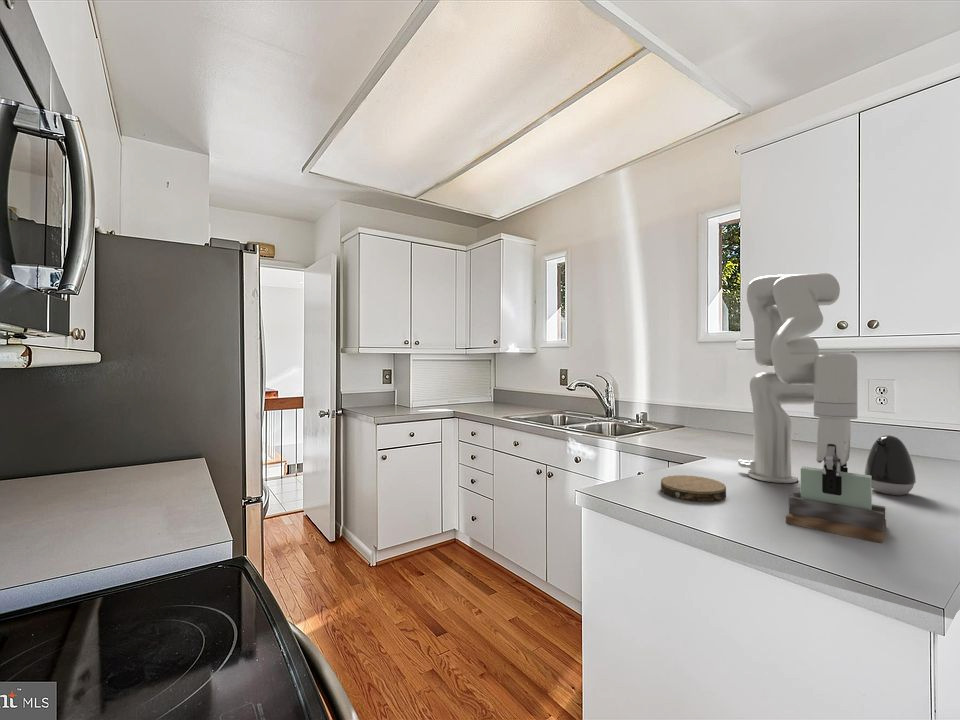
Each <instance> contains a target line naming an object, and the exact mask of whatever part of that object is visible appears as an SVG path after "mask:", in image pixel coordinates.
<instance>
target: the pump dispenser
mask: <svg viewBox="0 0 960 720" xmlns="http://www.w3.org/2000/svg"><path fill="white" fill-rule="evenodd" d="M905 445H906V444H904V443H903V441H902V440H901V439H899V437H897V436H894V435H882V436H880V437H878V438H877V439H876V440H875V442H874V443H873V444H872V447H871V448H870V450H869V452H868V456H867V458H866V462H865V468H864V473H863V475H870V476H872V490H874V491H876V492H878V493H880V492H881V493H880V494H884V493H885V495H889V494H891V495H890V496H902V495H903V496H904V495H906V494H908V493H910V492H911V491H912V490H913V488H914V486H915V484H916V483H917V478H916V472H915V471H916V470H915V467H914V463H913V460H912V458H911V455H910V453H909V451H908V449H907V447H906V446H905Z"/></svg>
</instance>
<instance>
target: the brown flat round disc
mask: <svg viewBox="0 0 960 720" xmlns="http://www.w3.org/2000/svg"><path fill="white" fill-rule="evenodd" d="M660 490H661V491H660V492H661V493H662V494H663V495H665V496H667V497H670V498H673V499H675V500H681V501H686V502H691V503H716V502H718V503H719V502H721V501H724V500H725V499H726V497H727V486H726V484H725V483H723V482H721V481H719V480H715V479H714V478H713V479H712V478H708V477H704V476H703V477H702V476H697V475H685V474H684V475H683V474H682V475H680V474H678V475H676V474H675V475H668V476H665V477H663V478H661V479H660Z"/></svg>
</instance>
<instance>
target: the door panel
mask: <svg viewBox="0 0 960 720" xmlns="http://www.w3.org/2000/svg"><path fill="white" fill-rule="evenodd" d="M822 474H823V468H816V467H810V466H809V467H808V466H801V468H800V493H801V498H805V499H810V500H816V501H822V502H828V503H833V504H839V505H845V506H850V507H856V508H862V509H868V510H872V505H873V504H872V501H873V499H872V496H873V495H872V494H873V493H872V490H873V488H872V476H870V475H864V473H863V474H862V473H855V472H854V473H853V472H849V471H848V472H840V476H842V494H841V495H840V496H839V495H833V494H827V493H823V492H822Z"/></svg>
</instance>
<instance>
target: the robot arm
mask: <svg viewBox="0 0 960 720" xmlns="http://www.w3.org/2000/svg"><path fill="white" fill-rule="evenodd" d="M840 294H841V287H840V283H839V281H838V280H837V278H836V277H835V276H834V275H833V274H831V273H827V272H819V273H800V274H799V273H798V274H777V275H776V274H775V275H764V276H759V277H756V278H754V279H752V280H751V281H750V282H749V283H748V285H747V289H746V301H747V305H748V309H749V311H750V313H751V316H752V320H753V327H754V328H753V331H754V332H753V333H754V334H753V335H754V337H753V338H754V358H755V362H756V363H757V365H758V366H760V367H762V368H763V367H764V368H773V369H774V371H765V372H759V373H757V374H755V375H753V376H752V377H751V379H750V382H749V390H750V391H749V392H750V395H751V396H750V397H751V403H752V413H753V414H752V415H753V459H751V460H750V461H749V460H746V459H745V460H744V459H738V467H740V468H747V469H749V470H748V471H747V476H748V477H750V478H751V479H755V480H758V481H761V482H766V483H767V482H769V483H776V484H790V483H797V482H798V480H799V477H798V475H797V474H794V473H792V420H791V417H790V416H789V414H788V413H787V412H786V411H785V409H784V408H783V407H782V406H784V405H785V406H786V405H796V406H798V405H799V406H800V405H805V406H806V405H813V417H816V418H818V423H817V433H816V434H817V436H816V437H817V438H816V439H817V440H816V457H815V459H816V462H817V463H818V464H821V463H822V462H823V468H822V469H823V474H822V492H823V493H827V494H833V495H839V496H840V495H841V494H842V476H840V472H848V473H849V470H848V468H849V467H847V466H848V461H849V459H850V453H851V451H850V450H851V434H852V433H851V431H852V430H851V420H857V419H858V358H857V357H856V356H855V355H854V354H851V353H839V352H820V348H819V346H818V343H817V341H816V340H815V338H813V337H812V336H809V334H813V333H814V332H815V331H817V330H819V328H821V326H822V325H823V322H824V315H823V313H822V311H821V308H820V306H821V307H822V306H831V305H833V304H835V303H836V302H837V300H838V299H839V298H840Z"/></svg>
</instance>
